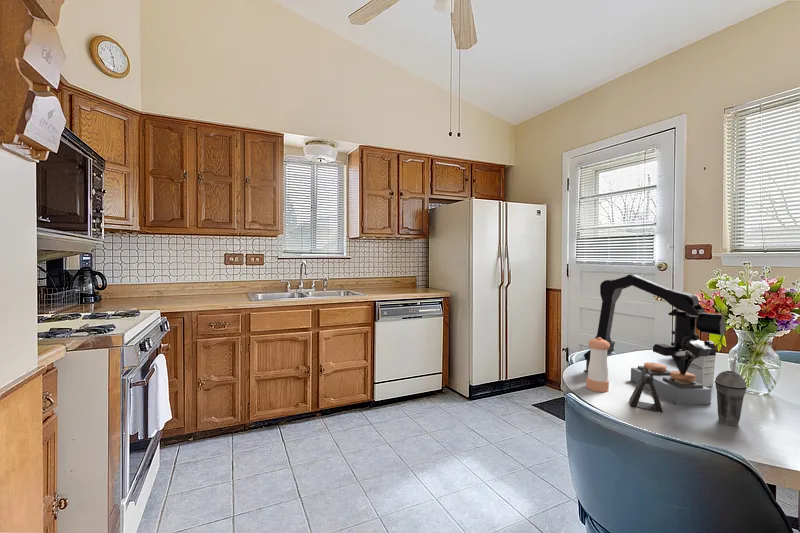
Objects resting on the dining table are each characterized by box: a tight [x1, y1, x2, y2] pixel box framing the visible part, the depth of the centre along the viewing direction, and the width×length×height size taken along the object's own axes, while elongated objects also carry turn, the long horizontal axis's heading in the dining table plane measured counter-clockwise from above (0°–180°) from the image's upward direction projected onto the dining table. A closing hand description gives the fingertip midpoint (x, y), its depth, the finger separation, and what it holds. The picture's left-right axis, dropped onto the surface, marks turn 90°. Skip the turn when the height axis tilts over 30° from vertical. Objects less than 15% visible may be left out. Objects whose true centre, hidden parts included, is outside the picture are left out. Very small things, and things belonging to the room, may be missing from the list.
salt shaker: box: [586, 337, 610, 393], centre depth 139 cm, size 7×7×19 cm
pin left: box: [643, 362, 667, 372], centre depth 144 cm, size 7×7×6 cm
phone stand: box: [629, 368, 664, 414], centre depth 123 cm, size 9×6×12 cm, turn 60°
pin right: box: [670, 370, 696, 384], centre depth 131 cm, size 7×7×6 cm
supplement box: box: [686, 356, 716, 388], centre depth 145 cm, size 7×7×13 cm
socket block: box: [630, 365, 712, 405], centre depth 137 cm, size 12×23×6 cm, turn 3°
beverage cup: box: [714, 356, 748, 427], centre depth 112 cm, size 7×7×20 cm
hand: (682, 374), depth 131 cm, fingers closed, pressing on pin right
